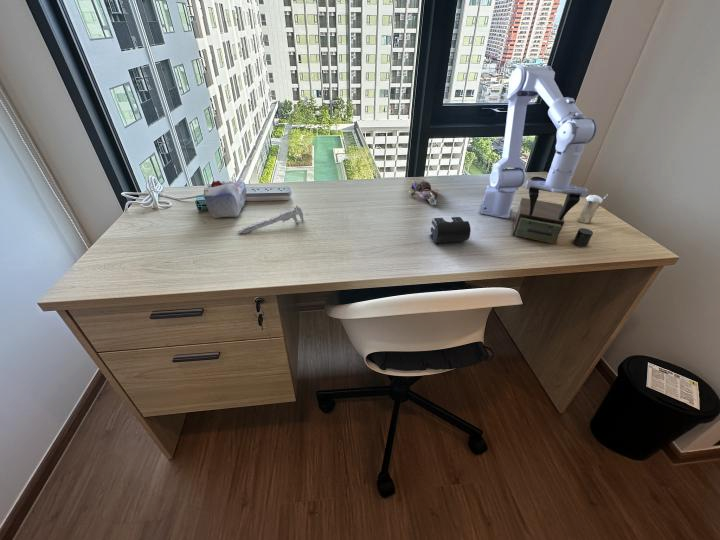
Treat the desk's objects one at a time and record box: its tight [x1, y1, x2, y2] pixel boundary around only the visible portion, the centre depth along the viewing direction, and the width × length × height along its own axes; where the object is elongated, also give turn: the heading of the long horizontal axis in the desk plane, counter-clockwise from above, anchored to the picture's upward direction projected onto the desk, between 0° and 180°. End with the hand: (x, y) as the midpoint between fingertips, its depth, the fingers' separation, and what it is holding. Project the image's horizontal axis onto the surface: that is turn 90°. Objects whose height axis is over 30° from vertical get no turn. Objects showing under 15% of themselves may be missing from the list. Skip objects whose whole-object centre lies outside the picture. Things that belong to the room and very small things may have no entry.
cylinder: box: [572, 227, 594, 248], centre depth 99 cm, size 4×4×4 cm
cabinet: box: [512, 197, 565, 244], centre depth 104 cm, size 13×12×8 cm
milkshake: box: [578, 193, 608, 224], centre depth 109 cm, size 5×5×10 cm
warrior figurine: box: [408, 180, 440, 206], centre depth 125 cm, size 12×5×18 cm
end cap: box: [429, 216, 471, 244], centre depth 99 cm, size 10×7×7 cm
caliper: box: [238, 204, 304, 234], centre depth 104 cm, size 20×1×6 cm, turn 113°
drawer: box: [515, 216, 561, 245], centre depth 101 cm, size 16×11×6 cm
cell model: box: [203, 180, 247, 219], centre depth 113 cm, size 13×11×20 cm
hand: (545, 216), depth 94 cm, fingers open, 7 cm apart
